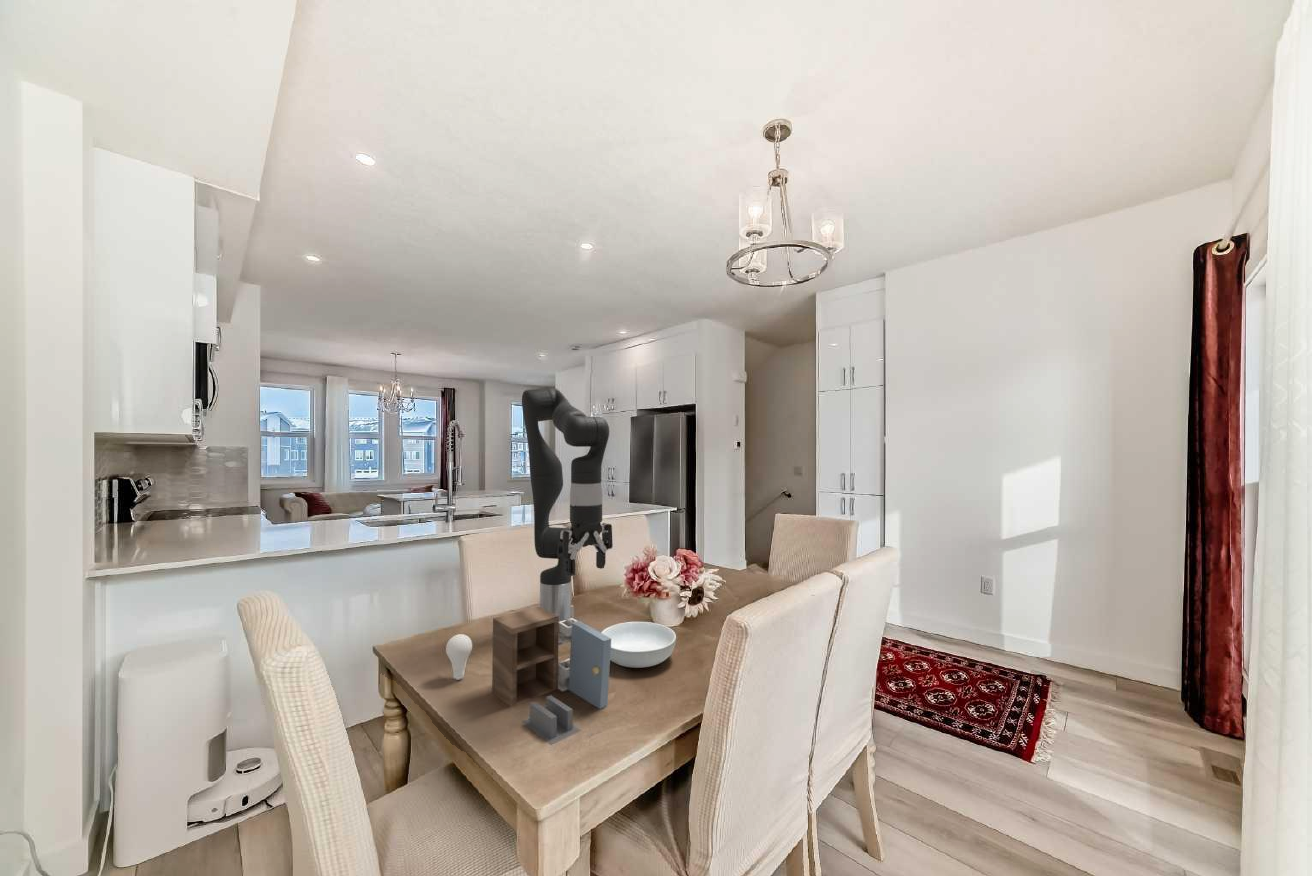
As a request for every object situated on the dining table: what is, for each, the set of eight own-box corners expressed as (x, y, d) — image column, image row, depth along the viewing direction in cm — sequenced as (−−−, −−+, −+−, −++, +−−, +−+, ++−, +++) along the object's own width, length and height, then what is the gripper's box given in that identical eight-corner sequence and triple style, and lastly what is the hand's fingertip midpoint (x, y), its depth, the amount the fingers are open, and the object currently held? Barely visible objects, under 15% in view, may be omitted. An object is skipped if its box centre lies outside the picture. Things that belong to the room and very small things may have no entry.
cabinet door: (569, 678, 125) (572, 613, 124) (610, 707, 113) (615, 637, 112) (554, 683, 122) (558, 618, 121) (595, 714, 110) (600, 642, 109)
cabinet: (553, 673, 130) (554, 602, 130) (579, 688, 122) (580, 613, 122) (492, 696, 118) (493, 618, 118) (515, 714, 110) (516, 631, 110)
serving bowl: (583, 666, 134) (584, 640, 134) (624, 640, 153) (625, 617, 153) (653, 684, 124) (653, 656, 124) (688, 653, 143) (688, 629, 143)
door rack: (550, 714, 110) (550, 691, 110) (580, 735, 103) (581, 710, 103) (521, 726, 105) (521, 702, 106) (551, 749, 98) (551, 723, 98)
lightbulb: (450, 674, 129) (450, 630, 129) (474, 673, 129) (475, 630, 130) (441, 685, 123) (442, 640, 123) (467, 685, 123) (468, 639, 123)
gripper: (599, 497, 126) (599, 563, 126) (551, 503, 116) (550, 574, 116) (619, 500, 121) (619, 568, 121) (570, 506, 111) (570, 581, 111)
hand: (585, 571), depth 119 cm, fingers open, 8 cm apart
